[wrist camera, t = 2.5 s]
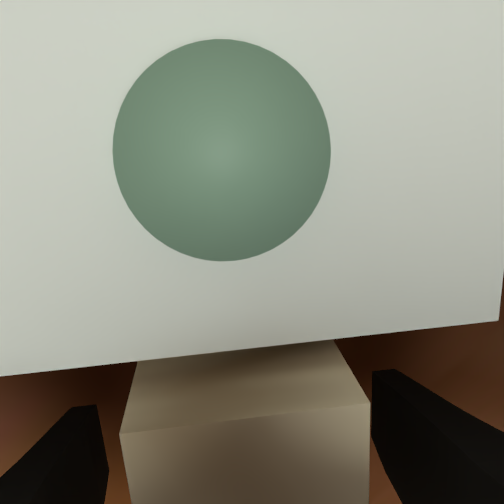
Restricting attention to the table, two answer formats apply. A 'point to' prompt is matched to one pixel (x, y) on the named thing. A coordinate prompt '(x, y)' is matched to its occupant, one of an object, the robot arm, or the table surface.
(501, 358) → the table surface
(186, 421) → the block
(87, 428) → the robot arm
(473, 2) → the white button box
